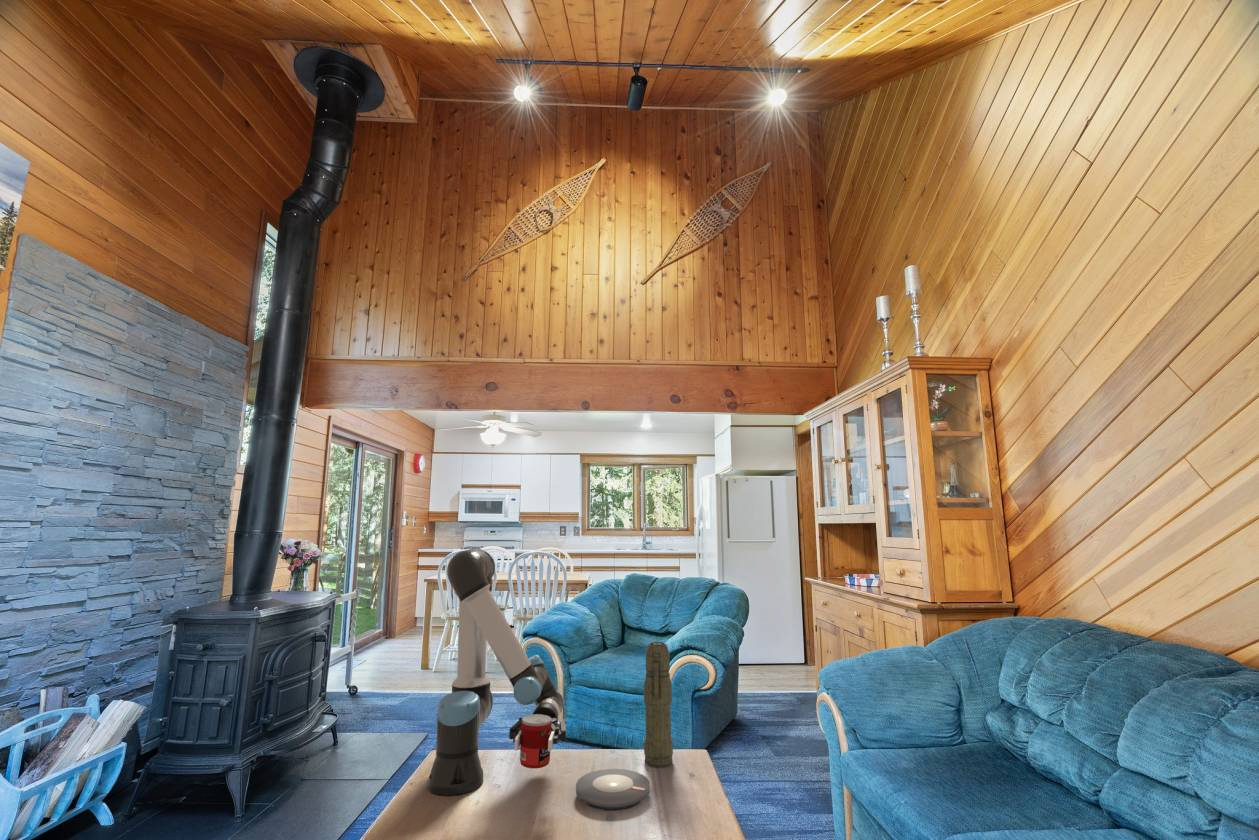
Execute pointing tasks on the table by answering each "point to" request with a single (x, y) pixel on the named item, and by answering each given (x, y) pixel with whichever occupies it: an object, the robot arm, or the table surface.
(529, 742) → the canned food
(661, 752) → the olive brown statue
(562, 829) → the table surface
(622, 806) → the turntable base
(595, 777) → the turntable
